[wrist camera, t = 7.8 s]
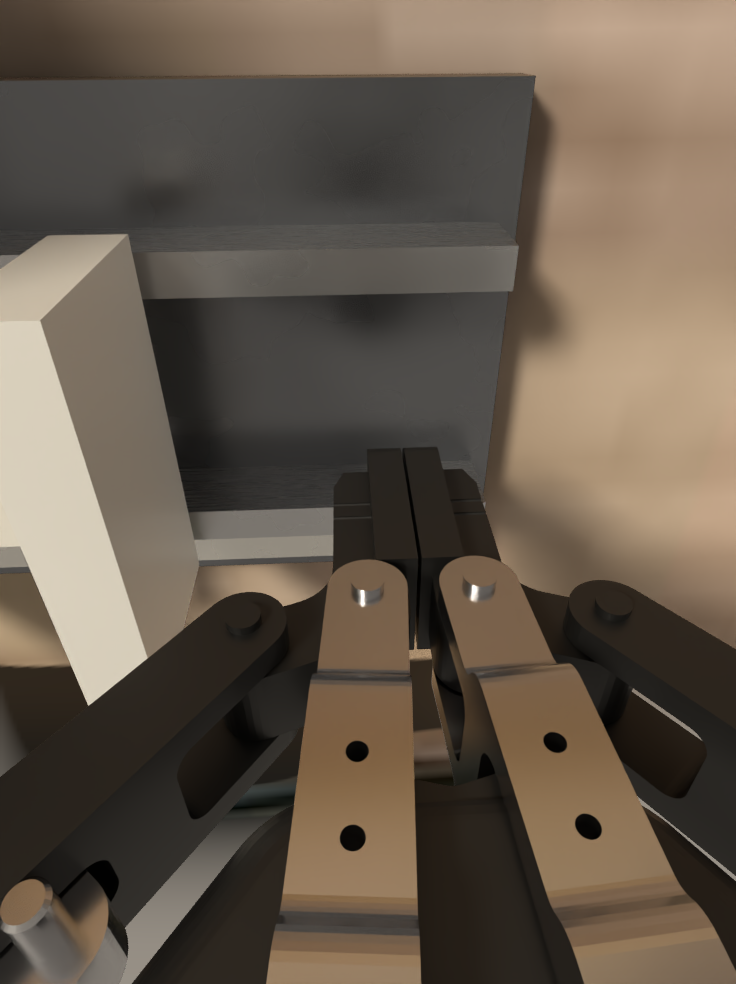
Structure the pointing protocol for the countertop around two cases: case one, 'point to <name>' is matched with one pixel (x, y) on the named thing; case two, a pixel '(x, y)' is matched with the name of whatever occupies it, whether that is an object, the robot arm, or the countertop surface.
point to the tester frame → (289, 269)
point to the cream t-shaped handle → (91, 457)
